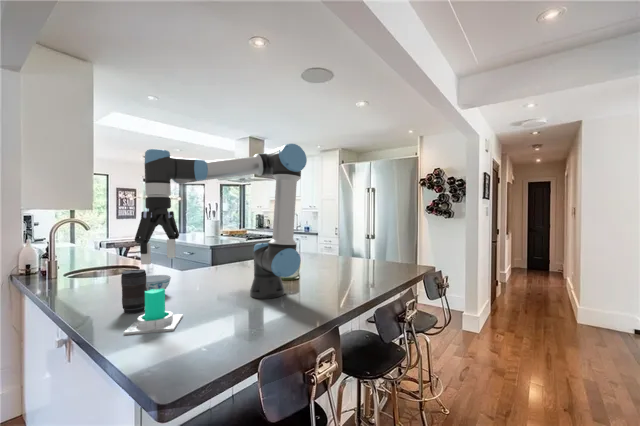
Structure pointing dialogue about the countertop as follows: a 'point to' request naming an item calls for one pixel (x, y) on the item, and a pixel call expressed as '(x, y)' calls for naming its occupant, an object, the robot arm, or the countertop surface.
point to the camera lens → (133, 290)
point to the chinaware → (157, 281)
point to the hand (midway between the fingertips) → (159, 260)
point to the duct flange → (154, 324)
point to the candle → (154, 304)
